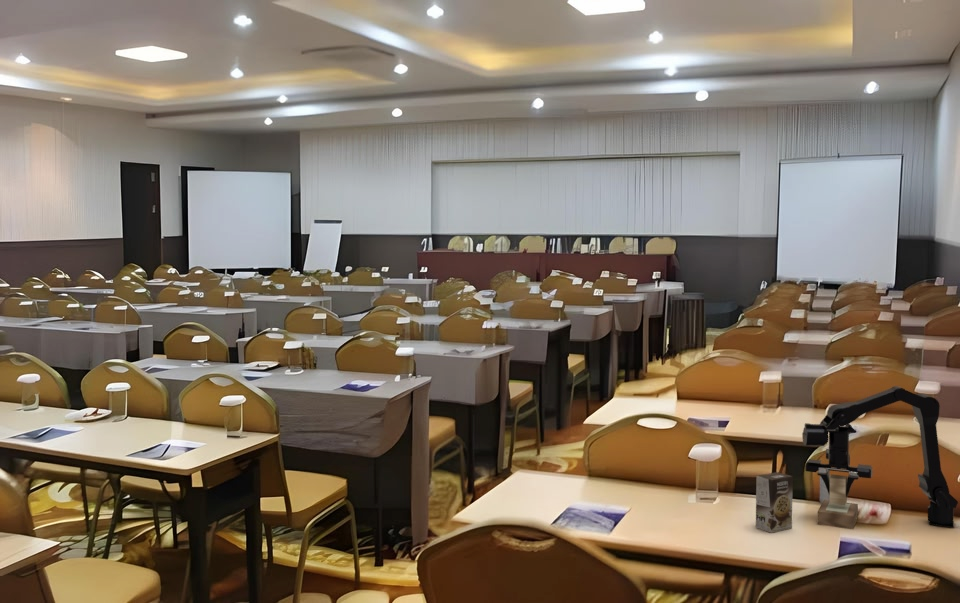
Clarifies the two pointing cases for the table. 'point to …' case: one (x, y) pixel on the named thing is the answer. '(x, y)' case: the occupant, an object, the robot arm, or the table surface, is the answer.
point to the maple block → (838, 489)
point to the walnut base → (838, 514)
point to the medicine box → (823, 491)
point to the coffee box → (774, 502)
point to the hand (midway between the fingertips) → (838, 495)
